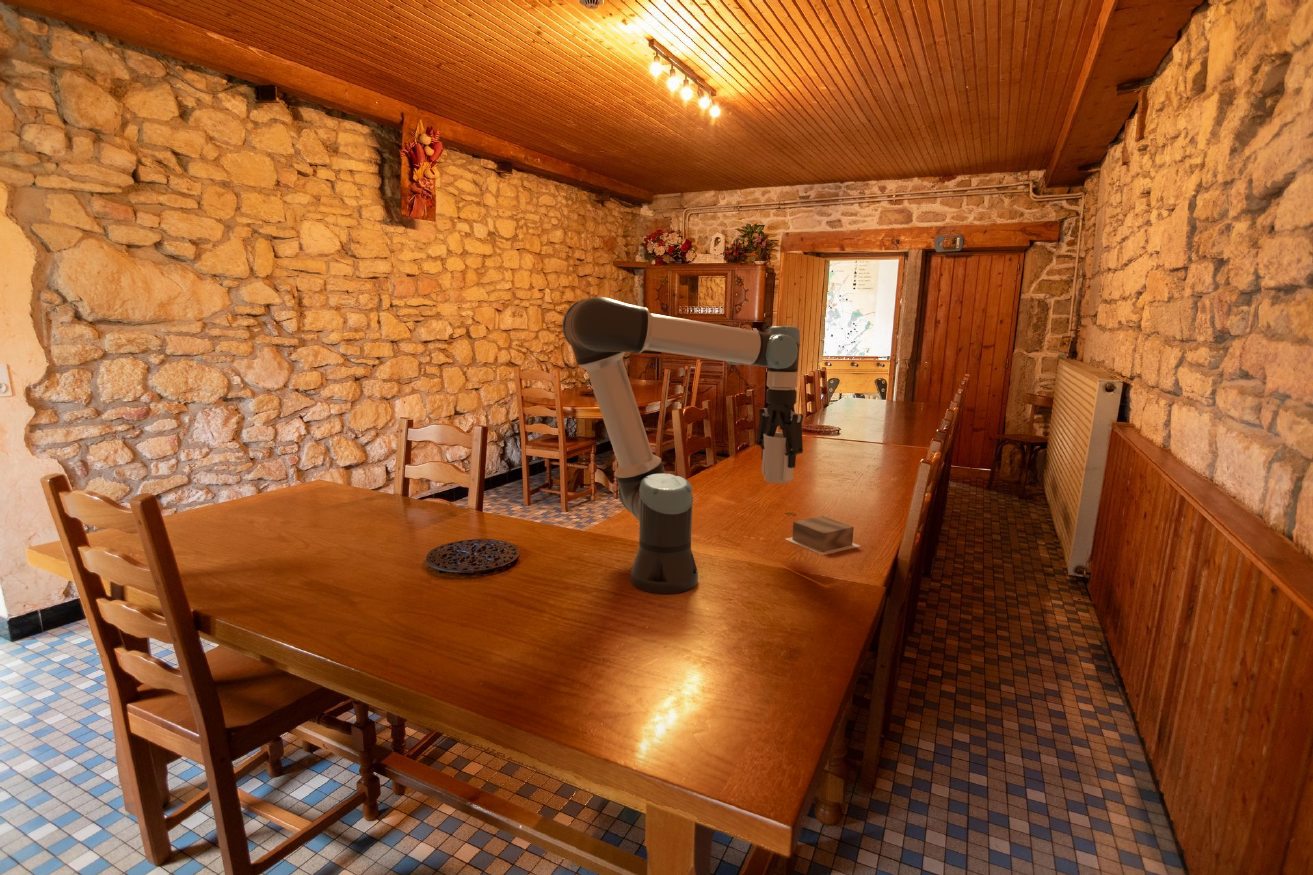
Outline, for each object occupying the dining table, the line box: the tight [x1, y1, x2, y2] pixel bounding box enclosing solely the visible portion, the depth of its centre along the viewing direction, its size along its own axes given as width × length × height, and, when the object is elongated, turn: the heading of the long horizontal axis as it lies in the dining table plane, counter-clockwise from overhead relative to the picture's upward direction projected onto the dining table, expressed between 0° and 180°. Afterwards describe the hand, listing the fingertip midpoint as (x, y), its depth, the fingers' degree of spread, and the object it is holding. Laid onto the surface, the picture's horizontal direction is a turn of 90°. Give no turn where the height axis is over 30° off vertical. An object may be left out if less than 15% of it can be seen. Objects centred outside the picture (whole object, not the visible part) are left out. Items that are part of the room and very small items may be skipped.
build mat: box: [785, 536, 861, 556], centre depth 165 cm, size 14×14×1 cm
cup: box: [764, 432, 792, 485], centre depth 158 cm, size 8×8×12 cm
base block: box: [792, 515, 854, 552], centre depth 164 cm, size 11×11×5 cm
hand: (777, 476), depth 159 cm, fingers closed on cup, 7 cm apart
